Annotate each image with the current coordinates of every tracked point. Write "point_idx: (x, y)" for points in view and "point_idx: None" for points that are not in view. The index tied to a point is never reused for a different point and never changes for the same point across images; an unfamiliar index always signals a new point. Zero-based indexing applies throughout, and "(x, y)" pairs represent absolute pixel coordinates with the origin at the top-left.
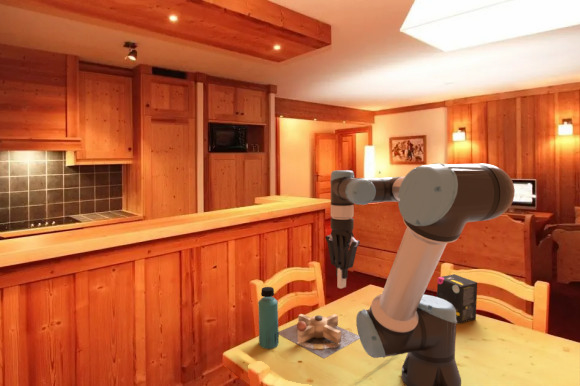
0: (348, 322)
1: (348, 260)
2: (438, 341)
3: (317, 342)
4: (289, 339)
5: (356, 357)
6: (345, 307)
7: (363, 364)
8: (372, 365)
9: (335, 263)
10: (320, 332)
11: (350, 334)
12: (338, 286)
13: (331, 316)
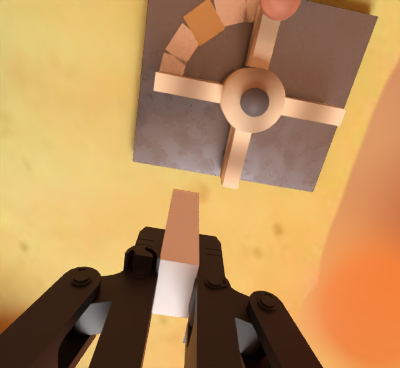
0: (218, 227)
1: (20, 340)
2: None
3: (222, 48)
4: (313, 5)
5: (99, 68)
6: None
7: (64, 45)
8: (43, 56)
9: (227, 302)
10: (228, 76)
11: (167, 155)
12: (190, 195)
13: (236, 168)
